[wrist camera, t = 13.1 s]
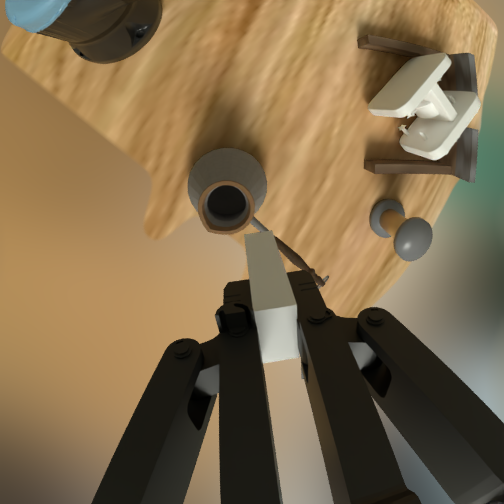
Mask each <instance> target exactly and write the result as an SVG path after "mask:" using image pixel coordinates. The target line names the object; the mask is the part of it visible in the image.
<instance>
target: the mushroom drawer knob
mask: <svg viewBox="0 0 504 504" xmlns="http://www.w3.org/2000/svg"><path fill="white" fill-rule="evenodd" d="M370 226H371V228H372V230H373V231H374V232H375V233H376V234H377V235H378V236H380V237H384V238H387V237H391V236H392V237H393V238H394V249H395V252H396V253H397V255H398V256H399V257H401V258H402V259H403V260H405V261H414V260H417V259H419V258H420V257H422V256H423V255H424V254H425V253H426V251H427V250H428V249H429V247H430V244H431V242H432V228H431V226H430V224H429V223H428V222H427V221H425V220H424V219H422V218H420V217H412V218H409V219H406V218H405V212H404V209H403V207H402V206H401V204H399V203H398V202H396V201H395V200H392V199H385V200H382V201H380V202H379V203H377V204H376V205H375V206H374V208H373V209H372V211H371V214H370Z"/></svg>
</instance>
